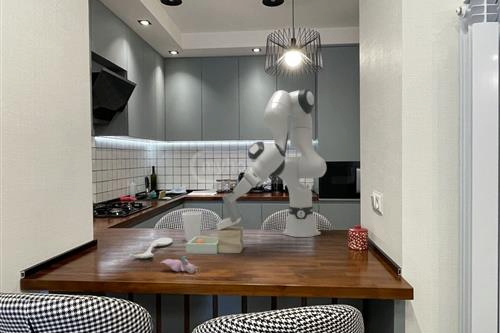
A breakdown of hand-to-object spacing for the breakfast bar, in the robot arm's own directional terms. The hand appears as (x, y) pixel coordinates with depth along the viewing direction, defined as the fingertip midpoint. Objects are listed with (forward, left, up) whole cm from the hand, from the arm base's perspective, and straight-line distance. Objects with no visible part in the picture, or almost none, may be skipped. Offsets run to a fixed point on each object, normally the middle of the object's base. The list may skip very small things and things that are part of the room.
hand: (232, 200), depth 145 cm
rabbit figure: (+28, -13, -22) cm, 38 cm away
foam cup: (-17, -23, -21) cm, 36 cm away
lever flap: (0, -1, -11) cm, 11 cm away
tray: (0, -12, -21) cm, 25 cm away
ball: (0, -15, -19) cm, 24 cm away
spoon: (+3, -34, -22) cm, 40 cm away
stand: (0, -1, -21) cm, 21 cm away
